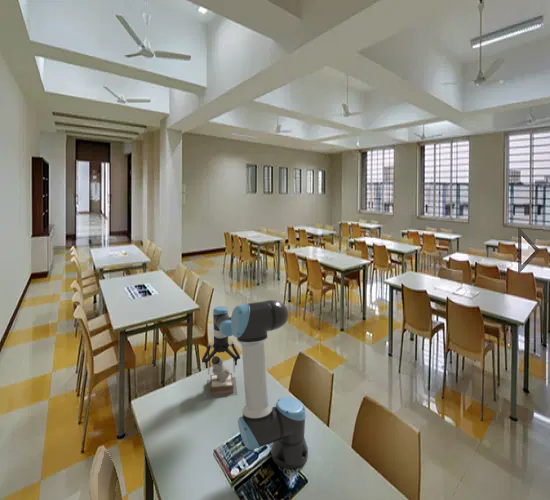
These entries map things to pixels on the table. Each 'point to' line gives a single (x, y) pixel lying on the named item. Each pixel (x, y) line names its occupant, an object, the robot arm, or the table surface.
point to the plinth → (221, 385)
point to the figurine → (219, 368)
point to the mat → (222, 394)
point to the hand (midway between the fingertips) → (221, 371)
